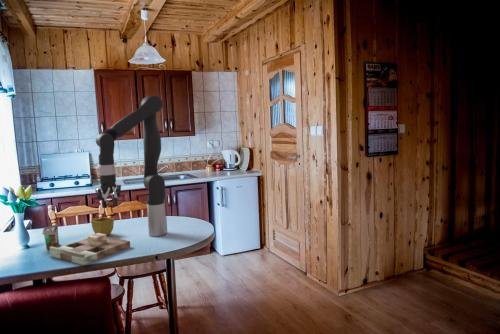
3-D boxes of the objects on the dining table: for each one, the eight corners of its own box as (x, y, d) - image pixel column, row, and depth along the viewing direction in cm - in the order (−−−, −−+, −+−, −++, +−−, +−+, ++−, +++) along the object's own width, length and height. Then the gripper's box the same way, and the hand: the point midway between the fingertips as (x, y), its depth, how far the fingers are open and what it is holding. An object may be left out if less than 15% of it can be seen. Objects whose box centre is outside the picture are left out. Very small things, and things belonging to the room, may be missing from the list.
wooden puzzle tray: (98, 240, 195) (97, 232, 194) (130, 247, 182) (129, 238, 182) (50, 256, 172) (49, 247, 172) (83, 264, 160) (82, 254, 159)
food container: (46, 244, 190) (44, 226, 189) (59, 243, 192) (57, 224, 191) (41, 252, 179) (39, 232, 178) (56, 250, 181) (54, 230, 180)
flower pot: (105, 232, 210) (104, 216, 209) (115, 234, 206) (114, 218, 205) (91, 236, 203) (90, 220, 202) (102, 238, 198) (100, 222, 197)
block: (98, 240, 184) (98, 232, 184) (106, 242, 181) (106, 234, 181) (88, 244, 179) (87, 236, 179) (96, 245, 176) (95, 237, 176)
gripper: (114, 171, 192) (116, 203, 194) (90, 175, 180) (92, 209, 181) (124, 172, 188) (126, 204, 190) (100, 175, 176) (102, 210, 178)
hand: (110, 206), depth 186 cm, fingers open, 5 cm apart
